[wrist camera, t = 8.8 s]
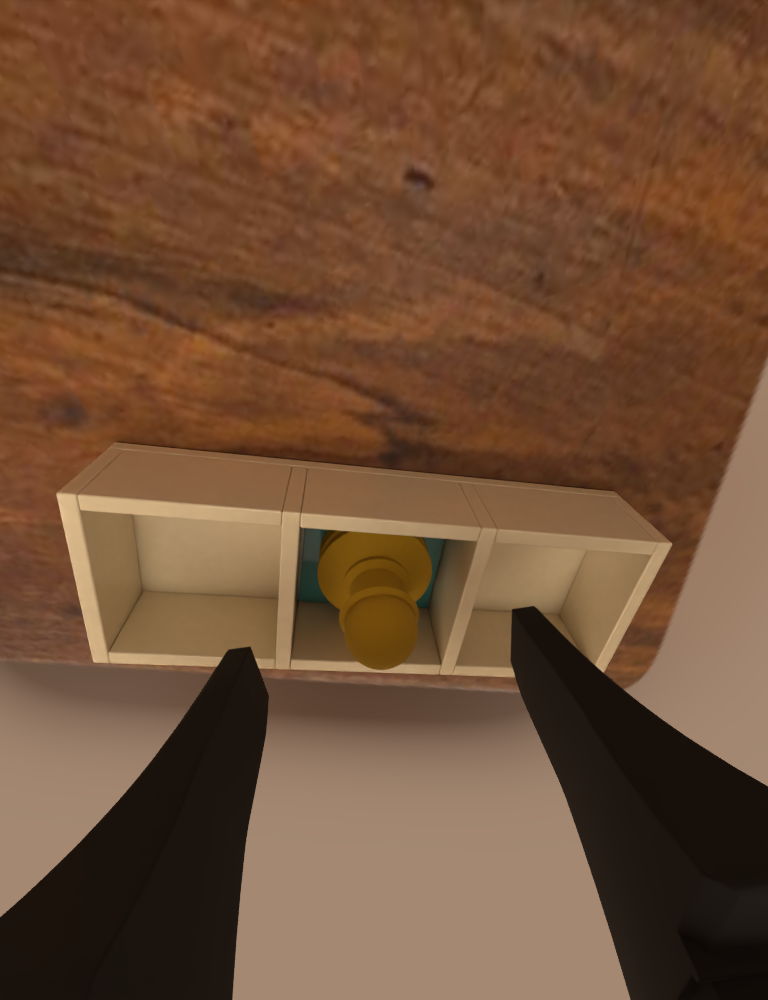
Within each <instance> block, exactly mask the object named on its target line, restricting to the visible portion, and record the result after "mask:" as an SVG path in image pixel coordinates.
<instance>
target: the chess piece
mask: <svg viewBox="0 0 768 1000" xmlns="http://www.w3.org/2000/svg"><path fill="white" fill-rule="evenodd" d="M431 575H432V562H431V558H430V555H429V553H428V551H427V547H426V543H425V540H424V537H415V536H402V535H389V534H376V533H363V532H351V531H338V530H327V531H326V532H325V534H324V536H323V538H322V541H321V544H320V556H319V565H318V574H317V576H318V582H319V586H320V588H321V591H322V593H323V594H324V596H325V597H326V598H327V600H328V601H329V602H330V603H332V604H333V605H334V606H335V607H336V608H338V609H340V613H339V622H340V626H341V628H342V630H343V632H344V634H345V641H346V644H347V647H348V649H349V651H350V653H351V654H352V656H353V657H354V658H355V659H356V660H357V661H358V662H359V663H361V664H362V665H364V666H366V667H368V668H371V669H375V670H388V669H391V668H394V667H397V666H399V665H400V664H402V663H403V662H404V661H405V660H407V659H408V657H409V656H410V655H411V653H412V652H413V650H414V648H415V646H416V642H417V638H418V626H417V623H418V618H419V610H418V607H417V604H416V603H415V602H416V601H417V600H418V599H420V598H421V596H422V595H423V594H424V592H425V591H426V590H427V587H428V585H429V583H430V580H431Z"/></svg>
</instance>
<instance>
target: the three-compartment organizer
mask: <svg viewBox="0 0 768 1000" xmlns="http://www.w3.org/2000/svg"><path fill="white" fill-rule="evenodd" d="M57 499H58V504H59V508H60V513H61V517H62V522H63V527H64V531H65V536H66V540H67V545H68V549H69V554H70V558H71V563H72V567H73V572H74V577H75V581H76V586H77V590H78V595H79V599H80V604H81V608H82V613H83V617H84V622H85V627H86V631H87V636H88V640H89V645H90V649H91V654H92V658H93V662H95V663H109V662H110V663H122V664H150V665H179V666H207V667H217V666H218V664H219V663H220V661H221V659H222V658H223V656H224V655H225V653H226V652H227V651H228V650H229V649H235V648H242V647H249V646H251V649H252V651H253V654H254V657H255V660H256V662H257V665H258V668H265V669H274V668H276V669H290V668H291V669H293V670H322V671H350V672H379V673H407V674H436V675H438V674H440V675H452V674H453V675H464V676H493V677H515V674H514V671H513V668H512V664H511V661H510V658H511V624H512V609H516V608H523V607H530V606H535V607H536V608H537V609H538V610H539V611H540V612H541V613H542V614H543V615H544V616H545V617H546V618H547V619H548V620H549V621H550V622H551V623H552V624H553V625H554V626H555V627H556V628H557V629H558V630H559V631H560V632H561V633H562V634H563V635H564V636H565V637H566V638H567V639H568V640H569V641H570V642H571V643H572V644H573V645H574V646H575V647H576V648H577V649H578V650H579V651H580V652H581V653H582V654H583V655H584V656H586V657H587V658H588V659H589V660H590V661H591V662H592V663H593V664H594V665H595V666H596V667H598V668H599V669H600V670H601V671H602V672H603V673H604V671H605V669H606V668H607V666H608V664H609V662H610V660H611V658H612V656H613V655H614V653H615V651H616V649H617V647H618V645H619V643H620V641H621V640H622V638H623V636H624V634H625V632H626V630H627V628H628V627H629V625H630V623H631V621H632V619H633V617H634V615H635V613H636V612H637V610H638V608H639V606H640V604H641V602H642V600H643V599H644V597H645V595H646V593H647V591H648V589H649V587H650V585H651V584H652V582H653V580H654V578H655V576H656V574H657V572H658V571H659V569H660V567H661V565H662V563H663V561H664V559H665V557H666V556H667V554H668V552H669V550H670V548H671V546H672V543H671V542H670V541H669V540H668V539H667V538H666V537H664V536H663V535H662V534H661V533H660V532H659V531H658V530H657V529H656V528H654V527H653V526H652V525H651V524H650V523H649V522H648V521H647V520H646V519H645V518H643V517H642V516H641V515H640V514H639V513H638V512H637V511H636V510H635V509H633V508H632V507H631V506H630V505H629V504H628V503H627V502H626V501H625V500H624V499H622V498H621V497H620V496H619V495H618V494H617V493H616V492H614V491H605V490H594V489H584V488H574V487H564V486H554V485H544V484H534V483H523V482H513V481H503V480H493V479H483V478H473V477H462V476H452V475H442V474H432V473H422V472H412V471H401V470H391V469H381V468H371V467H361V466H351V465H341V464H330V463H320V462H310V461H300V460H290V459H280V458H269V457H259V456H249V455H239V454H229V453H219V452H208V451H198V450H188V449H178V448H168V447H158V446H147V445H137V444H127V443H117V442H115V443H113V444H112V445H111V446H110V447H109V448H108V449H106V450H105V451H104V452H103V453H102V454H100V455H99V456H98V457H97V458H96V459H95V460H94V461H92V462H91V463H90V464H89V465H88V466H87V467H86V468H84V469H83V470H82V471H81V472H80V473H79V474H78V475H76V476H75V477H74V478H73V479H72V480H71V481H70V482H68V483H67V484H66V485H65V486H64V487H63V488H62V489H60V490H59V491H58V492H57ZM327 530H338V531H351V532H363V533H376V534H389V535H402V536H415V537H424V540H425V543H426V547H427V551H428V553H429V555H430V558H431V562H432V575H431V580H430V583H429V585H428V587H427V590H426V591H425V592H424V594H423V595H422V596H421V598H420V599H418V600H417V601H416V602H415V603H416V604H417V607H418V610H419V618H418V623H417V626H418V638H417V642H416V646H415V648H414V650H413V652H412V653H411V655H410V656H409V657H408V659H407V660H405V661H404V662H403V663H402V664H400V665H399V666H397V667H394V668H391V669H388V670H375V669H371V668H368V667H366V666H364V665H362V664H361V663H359V662H358V661H357V660H356V659H355V658H354V657H353V656H352V654H351V653H350V651H349V649H348V647H347V644H346V641H345V634H344V632H343V630H342V628H341V626H340V622H339V613H340V609H338V608H336V607H335V606H334V605H333V604H332V603H330V602H329V601H328V600H327V598H326V597H325V596H324V594H323V593H322V591H321V588H320V586H319V582H318V576H317V574H318V565H319V556H320V544H321V541H322V538H323V536H324V534H325V532H326V531H327Z"/></svg>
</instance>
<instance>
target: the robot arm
mask: <svg viewBox="0 0 768 1000" xmlns="http://www.w3.org/2000/svg"><path fill="white" fill-rule="evenodd" d="M510 661H511V664H512V668H513V671H514V674H515V677H516V681H517V684H518V687H519V690H520V693H521V696H522V698H523V701H524V703H525V705H526V708H527V710H528V712H529V714H530V717H531V719H532V721H533V723H534V726H535V728H536V730H537V732H538V735H539V737H540V739H541V741H542V744H543V746H544V748H545V750H546V752H547V754H548V757H549V759H550V761H551V764H552V766H553V768H554V770H555V773H556V775H557V777H558V779H559V782H560V784H561V787H562V789H563V792H564V794H565V797H566V799H567V802H568V805H569V808H570V811H571V814H572V816H573V819H574V822H575V825H576V828H577V831H578V834H579V837H580V840H581V843H582V846H583V849H584V852H585V855H586V858H587V861H588V864H589V867H590V869H591V873H592V876H593V879H594V882H595V885H596V888H597V891H598V894H599V898H600V901H601V904H602V907H603V910H604V913H605V916H606V920H607V923H608V926H609V929H610V932H611V935H612V938H613V942H614V945H615V949H616V952H617V956H618V959H619V962H620V966H621V969H622V972H623V976H624V979H625V982H626V986H627V989H628V992H629V996H630V999H631V1000H768V786H766V785H765V784H763V783H761V782H759V781H758V780H756V779H754V778H752V777H751V776H749V775H747V774H745V773H744V772H742V771H740V770H738V769H737V768H735V767H733V766H732V765H730V764H728V763H727V762H725V761H724V760H722V759H721V758H719V757H718V756H716V755H714V754H713V753H711V752H710V751H708V750H706V749H705V748H703V747H702V746H700V745H699V744H697V743H695V742H694V741H692V740H691V739H689V738H688V737H686V736H685V735H683V734H682V733H680V732H679V731H677V730H676V729H674V728H673V727H672V726H670V725H669V724H668V723H666V722H665V721H663V720H662V719H660V718H659V717H658V716H657V715H655V714H654V713H653V712H651V711H650V710H648V709H647V708H646V707H645V706H643V705H642V704H640V703H639V702H638V701H637V700H636V699H634V698H633V697H632V696H630V695H629V694H628V693H627V692H626V691H624V690H623V689H622V688H621V687H620V686H618V685H617V684H616V683H615V682H614V681H612V680H611V679H610V678H609V677H608V676H607V675H605V674H604V673H603V672H602V671H601V670H600V669H599V668H598V667H596V666H595V665H594V664H593V663H592V662H591V661H590V660H589V659H588V658H587V657H586V656H584V655H583V654H582V653H581V652H580V651H579V650H578V649H577V648H576V647H575V646H574V645H573V644H572V643H571V642H570V641H569V640H568V639H567V638H566V637H565V636H564V635H563V634H562V633H561V632H560V631H559V630H558V629H557V628H556V627H555V626H554V625H553V624H552V623H551V622H550V621H549V620H548V619H547V618H546V617H545V616H544V615H543V614H542V613H541V612H540V611H539V610H538V609H537V608H536V607H535V606H530V607H523V608H516V609H512V624H511V658H510ZM268 699H269V695H268V692H267V690H266V687H265V685H264V681H263V679H262V676H261V673H260V671H259V668H258V665H257V662H256V660H255V657H254V654H253V651H252V649H251V646H249V647H242V648H235V649H229V650H228V651H227V652H226V653H225V655H224V656H223V658H222V659H221V661H220V663H219V664H218V666H217V667H216V669H215V670H214V672H213V674H212V675H211V677H210V678H209V680H208V681H207V683H206V684H205V686H204V688H203V689H202V691H201V692H200V694H199V695H198V697H197V698H196V700H195V701H194V703H193V704H192V706H191V707H190V709H189V710H188V712H187V713H186V714H185V716H184V718H183V719H182V720H181V722H180V724H179V725H178V726H177V727H176V729H175V730H174V731H173V733H172V734H171V736H170V737H169V738H168V740H167V741H166V742H165V744H164V745H163V746H162V748H161V749H160V750H159V752H158V753H157V754H156V756H155V757H154V758H153V760H152V761H151V762H150V763H149V765H148V766H147V767H146V768H145V770H144V771H143V772H142V773H141V775H140V776H139V777H138V778H137V780H136V781H135V782H134V783H133V784H132V786H131V787H130V788H129V789H128V790H127V791H126V793H125V794H124V795H123V796H122V797H121V798H120V800H119V801H118V802H117V803H116V804H115V805H114V806H113V807H112V808H111V809H110V811H109V812H108V813H107V814H106V815H105V816H104V817H103V818H102V819H101V821H100V822H99V823H98V824H97V825H96V826H95V827H94V828H93V829H92V830H91V831H90V832H89V833H88V834H87V836H85V838H84V839H83V840H82V841H81V842H80V843H79V844H78V845H77V846H76V847H75V848H74V849H73V850H72V851H71V852H70V853H69V854H68V855H67V856H66V857H65V858H64V859H63V860H62V861H61V862H60V863H59V864H58V865H57V866H55V867H54V868H53V869H52V870H51V871H50V872H49V873H48V874H47V875H46V876H45V877H44V878H43V879H42V880H41V881H40V882H39V883H38V884H37V885H36V886H35V887H33V888H32V889H31V890H30V891H29V892H28V893H27V894H26V895H25V896H24V897H23V898H22V899H21V900H19V901H18V902H17V903H16V904H15V905H14V906H13V907H12V908H10V909H9V910H8V911H7V912H6V913H5V914H3V915H2V916H1V917H0V1000H232V995H233V994H232V993H233V980H234V966H235V952H236V937H237V925H238V914H239V903H240V891H241V882H242V872H243V863H244V853H245V844H246V837H247V831H248V824H249V819H250V814H251V809H252V803H253V799H254V794H255V789H256V784H257V778H258V773H259V768H260V763H261V758H262V752H263V747H264V741H265V736H266V725H267V714H268Z"/></svg>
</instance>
